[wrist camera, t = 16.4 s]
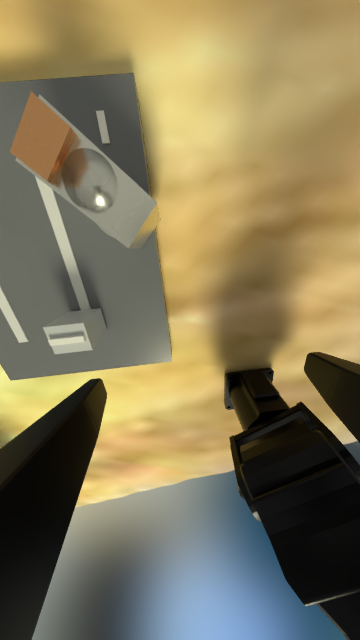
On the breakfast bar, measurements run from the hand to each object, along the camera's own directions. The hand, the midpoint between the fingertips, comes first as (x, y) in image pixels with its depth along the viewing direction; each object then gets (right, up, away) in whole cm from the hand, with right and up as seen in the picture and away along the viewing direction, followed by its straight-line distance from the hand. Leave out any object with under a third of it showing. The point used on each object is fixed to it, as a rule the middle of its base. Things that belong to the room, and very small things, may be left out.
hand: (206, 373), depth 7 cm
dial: (-6, +11, +6) cm, 14 cm away
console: (-12, +7, +9) cm, 17 cm away
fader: (-10, +2, +9) cm, 14 cm away
